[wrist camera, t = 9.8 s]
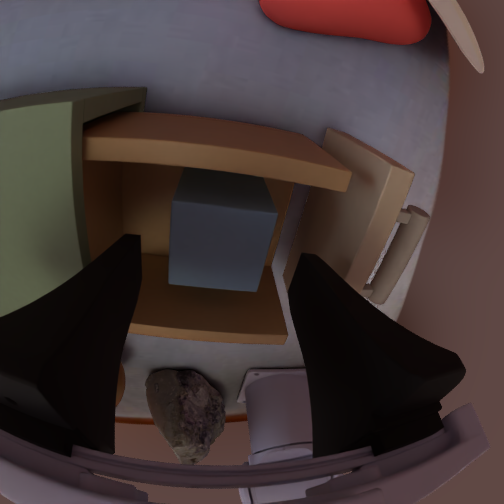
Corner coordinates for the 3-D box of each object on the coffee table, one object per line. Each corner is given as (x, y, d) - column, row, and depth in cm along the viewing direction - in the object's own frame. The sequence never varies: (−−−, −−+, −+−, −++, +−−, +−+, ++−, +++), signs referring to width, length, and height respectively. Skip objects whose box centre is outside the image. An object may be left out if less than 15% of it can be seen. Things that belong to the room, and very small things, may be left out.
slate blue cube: (262, 174, 14) (279, 213, 11) (248, 239, 16) (257, 292, 13) (185, 164, 13) (171, 200, 10) (178, 231, 16) (168, 284, 12)
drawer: (401, 152, 15) (474, 198, 10) (347, 280, 21) (382, 350, 15) (119, 98, 12) (52, 118, 6) (118, 258, 17) (88, 337, 12)
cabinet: (147, 87, 12) (72, 101, 5) (139, 260, 19) (109, 363, 12) (-18, 104, 10) (-104, 145, 3) (-1, 241, 16) (-53, 312, 9)
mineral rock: (217, 415, 35) (221, 479, 27) (142, 405, 32) (137, 470, 24) (248, 374, 29) (259, 459, 20) (148, 358, 26) (139, 450, 17)
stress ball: (428, 102, 10) (470, 15, 6) (254, 8, 7) (310, -93, 3) (382, 79, 14) (417, 9, 10) (247, 17, 11) (287, -62, 7)
